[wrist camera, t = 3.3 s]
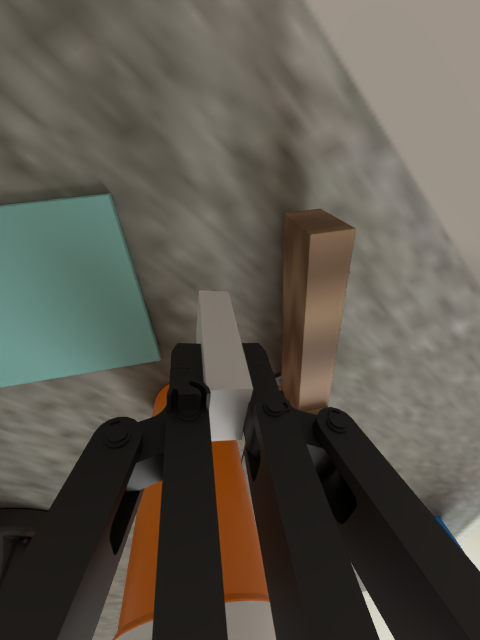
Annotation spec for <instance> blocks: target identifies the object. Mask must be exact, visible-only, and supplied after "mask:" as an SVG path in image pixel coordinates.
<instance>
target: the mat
mask: <svg viewBox="0 0 480 640" xmlns="http://www.w3.org/2000/svg"><path fill="white" fill-rule="evenodd" d="M155 361H161V354H160V351H159V348H158V344H157V341H156V338H155V335H154V332H153V328H152V325H151V322H150V319H149V315H148V312H147V309H146V306H145V303H144V299H143V296H142V293H141V290H140V287H139V283H138V280H137V277H136V274H135V270H134V267H133V264H132V261H131V258H130V254H129V251H128V248H127V245H126V242H125V238H124V235H123V232H122V229H121V225H120V222H119V219H118V216H117V213H116V209H115V206H114V203H113V200H112V197H111V193H107V194H98V195H89V196H80V197H70V198H61V199H52V200H43V201H34V202H25V203H16V204H7V205H0V387H6V386H12V385H18V384H24V383H30V382H36V381H42V380H48V379H53V378H59V377H65V376H71V375H77V374H83V373H89V372H95V371H101V370H107V369H113V368H119V367H125V366H131V365H137V364H143V363H149V362H155Z"/></svg>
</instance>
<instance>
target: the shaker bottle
mask: <svg viewBox="0 0 480 640" xmlns="http://www.w3.org/2000/svg"><path fill="white" fill-rule="evenodd" d="M168 389H169V384H168V385H167V386H165V387H164V388H163V389H162V390H161V391H160V392H159V393H158V395H157V397H156V399H155V403H154V409H153V415H152V417H154V416H156V415H157V414H159V413H160V412H161V411H162V410H163V409H164V408H165V407H166V405H167V392H168ZM212 453H213V465H214V477H215V489H216V501H217V513H218V525H219V537H220V549H221V561H222V574H223V586H224V598H225V610H226V622H227V634H228V640H276V636H275V630H274V624H273V619H272V613H271V607H270V601H269V595H268V590H267V584H266V578H265V572H264V567H263V561H262V555H261V549H260V543H259V538H258V532H257V527H256V523H255V519H254V514H253V510H252V505H251V501H250V497H249V492H248V488H247V484H246V479H245V475H244V470H243V466H241V457H240V453H239V448H238V444H237V440H226V441H212ZM161 493H162V481H160V482H157V483H155V484H153V485H151V486H148V487H146V488H145V489H144V492H143V495H142V498H141V501H140V504H139V506H138V509H137V515H136V521H135V527H134V533H133V539H132V546H131V552H130V558H129V564H128V570H127V577H126V583H125V589H124V595H123V601H122V607H121V614H120V620H119V626H118V632H117V634H116V635H115V637H114V639H113V640H152V631H153V615H154V600H155V585H156V570H157V554H158V539H159V524H160V508H161Z"/></svg>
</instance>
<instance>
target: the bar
mask: <svg viewBox="0 0 480 640" xmlns="http://www.w3.org/2000/svg"><path fill="white" fill-rule="evenodd" d="M355 231H356V229H355V228H354V227H352V226H350V225H348V224H347V223H345V222H343V221H341V220H340V219H338V218H336V217H334V216H332V215H331V214H329V213H327V212H325V211H324V210H322V209H314V210H306V211H298V212H289V213H284V252H283V328H282V389H283V392H284V394H285V397H286V400H288V401H289V402H290V404H291V406H292V407H293V408H295V409H298V410H300V411H304V412H308V413H312V414H316V415H317V414H318V413H319V411H320V410H321V409H323V408H328V403H329V397H330V390H331V384H332V378H333V371H334V365H335V359H336V352H337V346H338V339H339V333H340V327H341V320H342V314H343V308H344V301H345V295H346V289H347V282H348V276H349V270H350V263H351V257H352V250H353V244H354V238H355Z"/></svg>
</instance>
